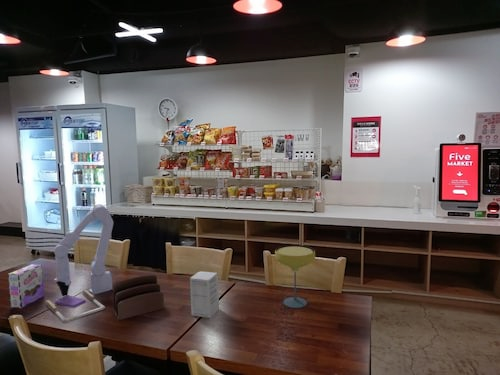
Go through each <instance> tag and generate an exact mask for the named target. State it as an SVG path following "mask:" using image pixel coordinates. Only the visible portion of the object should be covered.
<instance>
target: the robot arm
mask: <svg viewBox="0 0 500 375" xmlns="http://www.w3.org/2000/svg"><path fill="white" fill-rule="evenodd" d="M97 220H98V221H100V222H101V224H102V228H101V232H100V236H99V239H98V244H97V247H96V252H95V255H94V257H93V260H92V261H91V262H90V268H91V273H90V285H91V288H89V289H88V292H89V293H90V292H91V294H92V295H93V296H95V295H98V294H101V293H105V292H108V291H111V290H112V291H113V279H112V277H113V276H112V274H111V272H110V271H109V270H108V271H107V270H106V257H107V252H108V247H109V243H110V238H111V237H112V236H111V235H112V231H113V227H114V220H113V218H112V215H111V213H110V211H109V210H108V209H107V208H106V207H105V206H104V205H103V204H101V203H100V204H95V205H94V206H93V208H92V209H89V211H88V212H87V213H86V215H85V216H84V217H83V218H82V219H81V220H80V222H79V223H78V225H76V227H75V228H74V229H73V230H69V231H68V232H66V233H65V234H64V237H63V238H62V239H61V240H60V241H58V243H57V245H55V247H54V252H53V253H54V255H55V256H54V259H55V261H54V262H55V273H56V275H55V276H56V278H54V279H53V280H54V282H55V284H57V286H58V288H59V292H60V294H61V296H62V297H64V296H66V295H69V289H70V286H71V284H72V281H71V275H70V273H71V272H70V262H69V255H68V254H69V250H70V249H72V248H73V246H74V245H75V244H76V243H77V242H78V240H80V235H81V233H82V232H83V231H84V230H85V229H86V228H87V226H88V225H89V224H90V223H92V222H96V221H97Z"/></svg>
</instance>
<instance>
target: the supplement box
mask: <svg viewBox="0 0 500 375" xmlns="http://www.w3.org/2000/svg"><path fill="white" fill-rule="evenodd" d="M218 275H219V274H218V272H212V271H198V272H196V273H195V274H194V275H192V276H191V277H189V288H190V289H189V290H190V309H191V310H190V313H191V316H194V317H200V318H201V317H202V318H209V319H211V318H212V317H213V316H214V315H215V314H216V313H217V312H218V311H219V310H220V300H219V299H220V297H219V295H220V294H219V278H218V277H219V276H218Z"/></svg>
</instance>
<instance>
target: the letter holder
mask: <svg viewBox="0 0 500 375" xmlns="http://www.w3.org/2000/svg"><path fill="white" fill-rule="evenodd" d="M112 288H113V289H112V297H113V299H112V300H113V312H114V314H115V316H116V318H117V320H118V321H121V320H125V319H129V318H132V317H137V316H141V315H144V314H148V313H151V312H156V311H159V310H163V309H165V302H164V301H165V300H164V293H163V292H162V291H161V285H160V283H158V276H157V275H156V274H148V275H141V276H140V275H139V276H135V277H132V278H127V279H124V280H121V281H118V282H115V283H112Z"/></svg>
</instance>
